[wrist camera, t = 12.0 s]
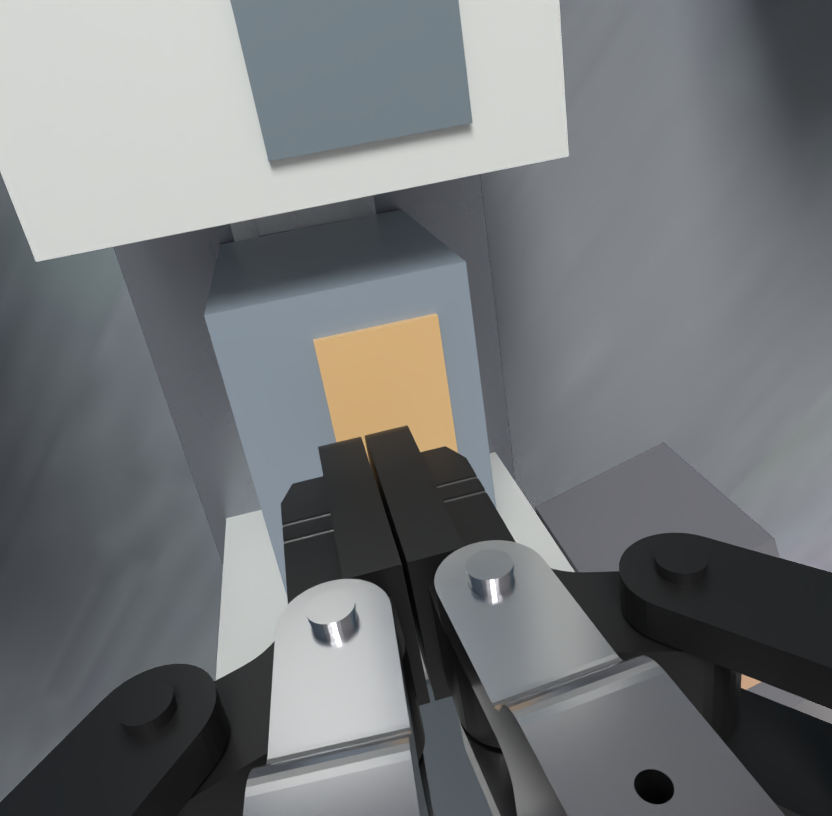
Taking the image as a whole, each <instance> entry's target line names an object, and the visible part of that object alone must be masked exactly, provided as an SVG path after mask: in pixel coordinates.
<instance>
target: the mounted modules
mask: <svg viewBox="0 0 832 816" xmlns="http://www.w3.org/2000/svg"><path fill="white" fill-rule="evenodd" d="M568 156H569V151H568V135H567V119H566V103H565V87H564V71H563V54H562V38H561V22H560V6H559V0H0V172H1V175H2V177H3V180H4V182H5V185H6V187H7V190H8V192H9V195H10V197H11V200H12V202H13V205H14V207H15V210H16V212H17V215H18V218H19V220H20V223H21V225H22V228H23V230H24V233H25V235H26V238H27V240H28V243H29V245H30V248H31V250H32V253H33V255H34V258H35V260H36V262H38V261H43V260H48V259H53V258H58V257H63V256H68V255H73V254H79V253H84V252H89V251H94V250H99V249H104V248H109V247H114V246H119V245H124V244H129V243H134V242H139V241H144V240H149V239H154V238H159V237H164V236H169V235H174V234H179V233H185V232H190V231H195V230H200V229H205V228H210V227H215V226H220V225H225V224H230V223H235V222H240V221H245V220H250V219H255V218H260V217H265V216H270V215H275V214H280V213H285V212H291V211H296V210H301V209H306V208H311V207H316V206H321V205H326V204H331V203H336V202H341V201H346V200H351V199H356V198H361V197H366V196H371V195H376V194H381V193H386V192H391V191H397V190H402V189H407V188H412V187H417V186H422V185H427V184H432V183H437V182H442V181H447V180H452V179H457V178H462V177H467V176H472V175H477V174H482V173H487V172H492V171H497V170H503V169H508V168H513V167H518V166H523V165H528V164H533V163H538V162H543V161H548V160H553V159H558V158H563V157H568ZM490 461H491V469H492V477H493V485H494V493H495V501H496V509H497V511H498V513H499V514H500V516H501V518H502V519H503V521H504V523H505V525H506V526H507V528H508V530H509V531H510V533H511V535H512V536H513V538H514V540H515V542H516V543H519V544H522V545H525V546H527V547H529V548H531V549H533V550H534V551H536V552H537V553H538V554H539V555H540V556H541V557H542V558H543V559H544V560H545V562H546V563H547V564H548V566H549V567H550V568H552V569H556V570H561V571H568V572H575V571H574V570H573V568H572V567H571V565H570V564H569V562H568V561H567V559H566V558H565V556H564V555H563V553H562V552H561V550H560V549H559V547H558V546H557V544H556V543H555V541H554V540H553V538H552V537H551V535H550V534H549V532H548V531H547V529H546V528H545V526H544V525H543V523H542V522H541V520H540V519H539V517H538V515H537V514H536V512H535V511H534V509H533V508H532V506H531V505H530V503H529V502H528V500H527V499H526V497H525V496H524V494H523V493H522V491H521V490H520V488H519V487H518V485H517V484H516V482H515V481H514V479H513V478H512V476H511V475H510V473H509V472H508V470H507V469H506V467H505V466H504V464H503V463H502V461H501V460H500V458H499V457H498V455H497V454H496V452H493V453H490ZM287 605H288V599H287V595H286V591H285V588H284V585H283V581H282V578H281V574H280V571H279V568H278V564H277V561H276V558H275V554H274V551H273V547H272V544H271V541H270V537H269V534H268V530H267V527H266V524H265V520H264V517H263V513H262V510H258V511H254V512H250V513H246V514H242V515H238V516H234V517H230V518H226V531H225V546H224V562H223V577H222V593H221V608H220V624H219V639H218V654H217V670H216V680H218V679H220V678H221V677H223V676H225V675H227V674H229V673H231V672H233V671H235V670H236V669H238V668H240V667H242V666H244V665H245V664H247V663H249V662H250V661H252V660H254V659H255V658H256V657H258V656H259V655H260V654H262V653H263V652H264V651H265V650H266V649H267V648H268V647H269V646H270V645H271V644H272V643H273V642H274V641H275V630H276V624H277V621H278V619H279V616H280V615H281V613H282V612H283V610H284V609H285V607H286V606H287ZM420 654H421V652H420ZM421 659H422V656H421ZM422 664H423V669H424V674H425V679H426V683H427V688H428V693H429V698H430V703H427V704H424V705H420V706H419V708H420V713H421V718H422V722H423V727H424V732H425V746H424V750H423V751H424V756H425V760H426V765H427V771H428V777H429V783H430V789H431V795H432V801H433V807H434V812H435V816H493V814H492V811H491V809H490V807H489V804H488V802H487V800H486V797H485V795H484V793H483V790H482V788H481V786H480V783H479V781H478V778H477V776H476V774H475V771H474V769H473V767H472V764H471V762H470V760H469V757H468V755H467V752H466V750H465V747H464V743H463V738H462V732H461V727H460V721H459V716H458V713H457V710H456V707H455V704H454V701H453V698H452V696H450V697H447V698H443V699H440V700H437V701H435V699H434V695H433V692H432V689H431V685H430V682H429V679H428V675H427V672H426V669H425V665H424V662H423V659H422Z"/></svg>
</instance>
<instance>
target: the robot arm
mask: <svg viewBox="0 0 832 816" xmlns="http://www.w3.org/2000/svg"><path fill="white" fill-rule="evenodd" d="M365 442H366V447H367V452H368V456H367V453H366V450H365V447H364V444H363V441H362V438H361V437H357V438H352V439H348V440H344V441H340V442H336V443H331V444H327V445H323V446H319V447H318V450H319V455H320V461H321V466H322V471H323V476H322V477H318V478H314V479H309V480H305V481H301V482H297V483H293V484H292V485H291V487H290V489H289V490H288V492H287V494H286V496H285V497H284V499H283V501H282V502H281V516H282V526H283V528H282V530H283V541H284V557H285V571H286V585H287V599H288V605H287V606H286V607H285V609H284V610H283V612H282V613H281V615H280V616H279V619H278V621H277V624H276V630H275V641H274V642H273V643H272V644H271V645H270V646H269V647H268V648H267V649H266V650H265V651H264V652H263V653H262V654H260V655H259V656H258V657H256V658H255V659H254V660H252V661H250V662H249V663H247V664H245V665H244V666H242V667H240V668H238V669H236V670H235V671H233V672H231V673H229V674H227V675H225V676H223V677H221V678H220V679H218V680H216V681H213V679H212V678H211V677H210V675H209V674H208V673H207V672H205V671H204V670H203V669H201V668H199V667H196V666H193V665H188V664H171V665H164V666H160V667H156V668H153V669H150V670H147V671H145V672H142V673H140V674H138V675H136V676H134V677H132V678H131V679H129V680H127V681H126V682H124V683H123V684H121V685H120V686H119V687H117V688H116V689H114V690H113V691H112V692H111V693H110V694H109V695H108V696H107V697H106V698H104V699H103V700H102V701H101V702H100V703H99V704H98V705H97V706H96V707H95V708H94V709H93V710H92V711H91V712H90V713H89V714H88V715H87V716H86V717H85V718H84V719H83V720H82V721H81V722H80V723H79V724H78V725H77V726H76V727H75V728H74V729H73V730H72V731H71V732H70V733H69V734H68V735H67V736H66V737H65V738H64V739H63V740H62V741H61V742H60V743H59V744H58V745H57V746H56V747H55V748H54V749H53V750H52V751H51V752H50V753H49V754H48V755H47V756H46V757H45V758H44V759H43V760H42V761H41V762H40V763H39V764H38V765H37V766H36V767H35V768H34V769H33V770H32V771H31V772H30V773H29V774H28V775H27V776H26V777H25V778H24V779H23V780H22V781H21V782H20V783H19V784H18V785H17V786H16V787H15V788H14V789H13V790H12V791H11V792H10V793H9V794H8V795H7V796H6V797H5V798H4V799H3V800H2V801H1V802H0V816H435V812H434V807H433V801H432V795H431V789H430V783H429V777H428V771H427V765H426V760H425V756H424V751H423V750H424V746H425V732H424V727H423V722H422V718H421V713H420V708H419V706H420V705H424V704H427V703H430V698H429V693H428V688H427V683H426V679H425V674H424V669H423V664H422V659H423V662H424V665H425V669H426V672H427V675H428V679H429V682H430V685H431V689H432V692H433V695H434V699H435V701H437V700H440V699H443V698H447V697H450V696H452V698H453V701H454V704H455V707H456V710H457V713H458V716H459V721H460V727H461V732H462V738H463V743H464V747H465V750H466V752H467V755H468V757H469V760H470V762H471V764H472V767H473V769H474V771H475V774H476V776H477V778H478V781H479V783H480V786H481V788H482V790H483V793H484V795H485V797H486V800H487V802H488V804H489V807H490V809H491V811H492V814H493V816H832V724H830V723H827V722H825V721H823V720H820V719H817V718H815V717H813V716H810V715H808V714H805V713H803V712H800V711H797V710H795V709H793V708H790V707H788V706H785V705H783V704H780V703H778V702H775V701H773V700H770V699H768V698H765V697H763V696H760V695H758V694H755V693H753V692H750V691H748V690H745V689H743V688H741V677H742V674H743V675H745V676H748V677H750V678H753V679H756V680H758V681H761V682H763V683H766V684H768V685H771V686H774V687H776V688H779V689H781V690H784V691H786V692H789V693H791V694H794V695H797V696H799V697H802V698H804V699H807V700H810V701H812V702H815V703H817V704H820V705H822V706H825V707H827V708H830V709H832V573H831V572H827V571H824V570H820V569H817V568H813V567H810V566H806V565H803V564H799V563H796V562H792V561H788V560H785V559H781V558H778V557H774V556H771V555H767V554H764V553H760V552H757V551H753V550H750V549H746V548H743V547H739V546H735V545H732V544H728V543H725V542H721V541H718V540H714V539H711V538H707V537H704V536H699V535H695V534H688V533H661V534H656V535H651V536H648V537H645V538H643V539H640V540H638V541H636V542H635V543H633V544H632V545H630V546H629V547H628V548H627V549H626V550H625V551H624V553H623V554H622V556H621V558H620V562H619V571H609V572H568V571H561V570H556V569H552V568H550V567H549V566H548V564H547V563H546V562H545V560H544V559H543V558H542V557H541V556H540V555H539V554H538V553H537V552H536V551H534V550H533V549H531V548H529V547H527V546H525V545H522V544H519V543H516V542H515V540H514V538H513V536H512V535H511V533H510V531H509V530H508V528H507V526H506V525H505V523H504V521H503V519H502V518H501V516H500V514H499V513H498V511H497V509H496V507H495V506H494V504H493V502H492V501H491V499H490V497H489V496H488V494H487V493H486V492H485V489H484V487H483V485H482V484H481V482H480V480H479V478H478V479H477V475H476V473H475V472H474V470H473V468H472V467H471V465H470V463H469V461H468V460H467V458H466V457H464V456H462V455H460V454H459V453H457V452H455V451H453V450H452V449H450V448H448V447H446V446H444V447H440V448H436V449H432V450H427V451H423V452H420V450H419V448H418V446H417V444H416V442H415V440H414V438H413V435H412V433H411V431H410V429H409V427H408V426H407V425H406V426H402V427H398V428H394V429H389V430H385V431H381V432H377V433H373V434H369V435H365ZM368 457H369V459H368ZM369 462H370V463H369ZM420 652H421V654H420ZM421 656H422V659H421Z"/></svg>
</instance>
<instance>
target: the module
mask: <svg viewBox="0 0 832 816" xmlns="http://www.w3.org/2000/svg"><path fill="white" fill-rule="evenodd" d="M204 317H205V320H206V324H207V327H208V331H209V334H210V337H211V341H212V344H213V348H214V351H215V354H216V358H217V361H218V364H219V368H220V371H221V375H222V378H223V381H224V385H225V388H226V392H227V395H228V398H229V402H230V405H231V409H232V412H233V415H234V419H235V422H236V425H237V429H238V432H239V436H240V439H241V442H242V446H243V449H244V453H245V456H246V459H247V463H248V466H249V469H250V473H251V476H252V480H253V483H254V486H255V490H256V493H257V497H258V500H259V503H260V507H261V510H262V513H263V517H264V520H265V524H266V527H267V530H268V534H269V537H270V541H271V544H272V547H273V551H274V554H275V558H276V561H277V564H278V568H279V571H280V574H281V578H282V581H283V585H284V588H285V591H286V595H287V585H286V571H285V557H284V541H283V530H282V528H283V526H282V516H281V502H282V501H283V499H284V497H285V496H286V494H287V492H288V490H289V489H290V487H291V485H292V484H293V483H297V482H301V481H305V480H309V479H314V478H318V477H322V476H323V471H322V466H321V461H320V455H319V450H318V447H319V446H323V445H327V444H331V443H336V442H340V441H344V440H348V439H352V438H357V437H361V438H362V441H363V444H364V447H365V450H366V453H367V456H368V452H367V447H366V442H365V435H369V434H373V433H377V432H381V431H385V430H389V429H394V428H398V427H402V426H406V425H407V426H408V427H409V429H410V431H411V433H412V435H413V438H414V440H415V442H416V444H417V446H418V448H419V450H420V452H423V451H427V450H432V449H436V448H440V447H444V446H446V447H448V448H450V449H452V450H453V451H455V452H457V453H459V454H460V455H462V456H464V457H466V458H467V460H468V461H469V463H470V465H471V467H472V468H473V470H474V472H475V473H476V475H477V479H478V478H479V480H480V482H481V484H482V485H483V487H484V489H485V492H486V493H487V494H488V496H489V497H490V499H491V501H492V502H493V504H494V506H495V507H496V501H495V493H494V485H493V477H492V469H491V461H490V453H489V445H488V437H487V429H486V420H485V412H484V404H483V396H482V388H481V380H480V372H479V364H478V356H477V348H476V339H475V331H474V323H473V315H472V307H471V299H470V291H469V283H468V275H467V267H466V261H465V260H463V259H462V258H461V257H460V256H458V255H457V254H456V253H455V252H453V251H452V250H451V249H450V248H449V247H447V246H446V245H445V244H444V243H442V242H441V241H440V240H439V239H438V238H436V237H435V236H434V235H433V234H431V233H430V232H429V231H428V230H426V229H425V228H424V227H423V226H422V225H420V224H419V223H418V222H417V221H415V220H414V219H413V218H412V217H411V216H409V215H408V214H407V213H406V212H404V211H403V210H402V209H400V210H395V211H390V212H385V213H380V214H374V215H369V216H364V217H359V218H354V219H349V220H344V221H339V222H333V223H328V224H323V225H318V226H313V227H308V228H303V229H297V230H292V231H287V232H282V233H277V234H272V235H267V236H262V237H256V238H251V239H246V240H241V241H236V242H231V243H226V244H221V245H220V246H219V250H218V255H217V259H216V264H215V268H214V273H213V277H212V282H211V286H210V291H209V296H208V300H207V305H206V309H205V314H204ZM368 459H369V457H368ZM369 463H370V462H369Z"/></svg>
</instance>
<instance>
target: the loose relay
mask: <svg viewBox="0 0 832 816" xmlns="http://www.w3.org/2000/svg"><path fill="white" fill-rule="evenodd" d="M535 508H536V510H537V512H538V514H539V517H540V519H541V521H542V523H543V525H544V526H545V528H546V529H547V531H548V532H549V534H550V535H551V537H552V538H553V540H554V541H555V543H556V544H557V546H558V547H559V549H560V550H561V552H562V553H563V555H564V556H565V558H566V559H567V561H568V562H569V564H570V565H571V567H572V568H573V570H574V571H575V572H609V571H619V562H620V558H621V556H622V554H623V553H624V551H625V550H626V549H627V548H628V547H629V546H630V545H632V544H633V543H635V542H636V541H638V540H640V539H643V538H645V537H648V536H651V535H656V534H661V533H688V534H695V535H699V536H704V537H707V538H711V539H714V540H718V541H721V542H725V543H728V544H732V545H735V546H739V547H743V548H746V549H750V550H753V551H757V552H760V553H764V554H767V555H771V556H774V557H778V558H779V555H778V551H777V547H776V543H775V539H774V538H773V537H772V536H771V535H770V534H769V533H768V532H766V531H765V530H764V529H763V528H762V527H761V526H760V525H758V524H757V523H756V522H755V521H754V520H753V519H751V518H750V517H749V516H748V515H747V514H746V513H745V512H743V511H742V510H741V509H740V508H739V507H738V506H736V505H735V504H734V503H733V502H732V501H731V500H729V499H728V498H727V497H726V496H725V495H724V494H723V493H721V492H720V491H719V490H718V489H717V488H716V487H714V486H713V485H712V484H711V483H710V482H709V481H708V480H706V479H705V478H704V477H703V476H702V475H701V474H699V473H698V472H697V471H696V470H695V469H694V468H693V467H691V466H690V465H689V464H688V463H687V462H686V461H684V460H683V459H682V458H681V457H680V456H679V455H677V454H676V453H675V452H674V451H673V450H672V449H671V448H669V447H668V446H667V445H666V444H665V443H664V442H663V443H661V444H659V445H657V446H655V447H653V448H651V449H649V450H647V451H646V452H644V453H642V454H640V455H638V456H636V457H634V458H632V459H630V460H628V461H626V462H624V463H622V464H620V465H618V466H616V467H614V468H612V469H610V470H608V471H606V472H604V473H602V474H600V475H598V476H596V477H594V478H592V479H590V480H588V481H586V482H584V483H582V484H580V485H578V486H576V487H574V488H572V489H570V490H568V491H566V492H564V493H562V494H560V495H558V496H556V497H554V498H552V499H550V500H548V501H546V502H544V503H542V504H540V505H538V506H536V507H535ZM741 688H743V689H745V690H748V691H750V692H753V693H755V694H758V695H760V696H763V697H765V698H768V699H770V700H773V701H775V702H778V703H780V704H783V705H785V706H788V707H790V708H791V707H792V706H795V705H796V704H798V703H800V702H802V701H804V700H806V699H804V698H802V697H799V696H797V695H794V694H791V693H789V692H786V691H784V690H781V689H779V688H776V687H774V686H771V685H768V684H766V683H763V682H761V681H758V680H756V679H753V678H750V677H748V676H745V675H743V674H742V677H741Z"/></svg>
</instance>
